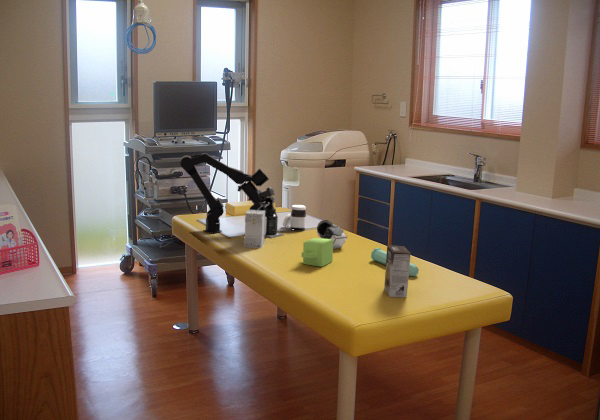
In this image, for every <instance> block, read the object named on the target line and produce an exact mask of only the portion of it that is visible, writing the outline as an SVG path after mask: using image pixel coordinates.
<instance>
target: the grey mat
mask: <svg viewBox="0 0 600 420" xmlns="http://www.w3.org/2000/svg"><path fill="white" fill-rule="evenodd" d="M281 236H284V233H281V232H277V234H276V235H265V236H264V238H265V237H266V238H269V239H272V238H277V237H281Z"/></svg>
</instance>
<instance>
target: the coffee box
mask: <svg viewBox="0 0 600 420" xmlns="http://www.w3.org/2000/svg"><path fill="white" fill-rule="evenodd" d="M386 252H387V257H386V265H385V273H384V286H383V287H384V290H385V292H386V293H387V295H388V297H390V298H407V297H406V296H408V287H409V277H410V276H409V267H410V263H411V252H410V251H409V250H408V249H407V247H405V245H390V244H388V245H386Z"/></svg>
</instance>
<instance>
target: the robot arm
mask: <svg viewBox="0 0 600 420" xmlns="http://www.w3.org/2000/svg"><path fill="white" fill-rule="evenodd" d="M179 163H180V167H181V168H182V169H183V170H184V171H185V172H186V173H187V175H189V176H190V177H191V179H192V180H193V182H194V184H195V185H196V186H197V189H198V190H199V191H200V193H201V195H202V196H203V198H204V199H205V200H206V203H207V205H208V207H209V209H208V211H207V212H206V213H205V214H206V218H205V229H203V230H202V231H203V232H205V233H209V234H217V233H221V232H223V230H221V223H220V222H221V221H220V217H221V216H223V214H224V212H225V211H224V203H223V202H222V201H221V200H220V197H217V198H216V197H215V196H214V195H213V194H212V192H211V190H210V188H209V187H208V186H207V184H206V182H205V181H204V180H203V177H202V176H201V174H200V173H199V171H198V169H197V165H200V164H203V163H205V164H206V165H209V166H211V167H212V168H214V169H216V170H217V171H219V172H220V173H222V174H225V175H226V176H227V177H228V178H229V179H230V180H232V181H233V182H234V183H235V184H236V185H237V192H243V194H245V195H246V197H248V199H247V200H248V202H249V201H250V202H252V205H251V206H250V207H249V210H262V211H265V217H267V220H269V221H270V220H271V218H270V216H269V215H268V213H267V212H266V210H265V209H266V208H275V206H274V203H275V200H276V199H275V198H274V196H275V189H273V188H272V187H271V186H269V187H266V188H265V191H262V190H261V189H260V190H259V189H258V188H257V187H262V186H263V185H264V184H265V183H266V182H268V181H269V180H270V178H269V176H267V175H266V173H265V172H263V170H262V169H261V168H258V169H257V170H256V171H255V172H254V173H252V175H251V174H248V173H244V171H242V170H240V169H237V168H234V167H232V166H231V167H230V166H228V165H227V164H225V163H223V162H222V161H219V160H218V159H217V158H215V157H213V156H211V155H209V153H206V152H203V153H198V154H193V155H184V156H182V157H181V158H180V162H179ZM275 214H276V215H277V216H278V214H277V212H276V213H275Z"/></svg>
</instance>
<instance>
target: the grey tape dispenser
mask: <svg viewBox="0 0 600 420" xmlns="http://www.w3.org/2000/svg"><path fill="white" fill-rule="evenodd" d="M316 233H317V235H318V237H319V238H323V239H331V240H333V250H335V249H341V248H343V245H344V244H345V242H346V240H347V239H348V236H347V235H346V233H345V231H344V230H343V229H342V228H341V226H340V225H337V226H336V225H334V224H333V223H332V222H331V221H330V220H327V219H326V220H325V219H324V220H321V221H319V223H317V226H316Z"/></svg>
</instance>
